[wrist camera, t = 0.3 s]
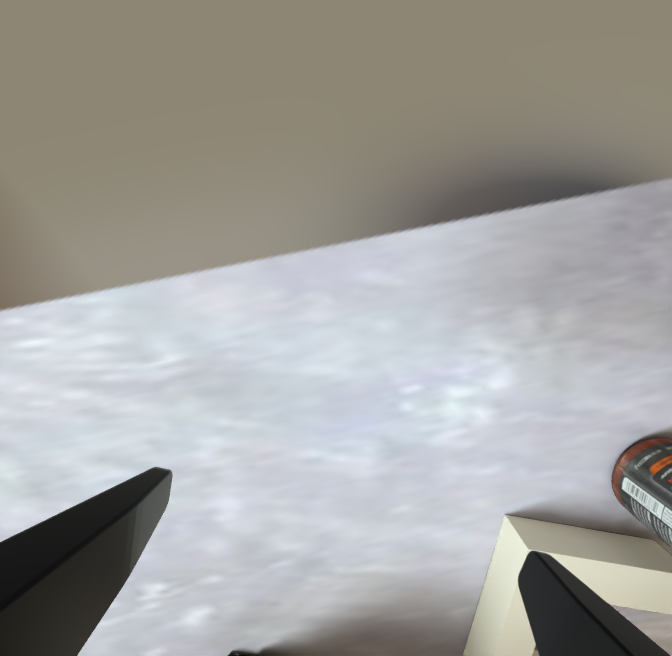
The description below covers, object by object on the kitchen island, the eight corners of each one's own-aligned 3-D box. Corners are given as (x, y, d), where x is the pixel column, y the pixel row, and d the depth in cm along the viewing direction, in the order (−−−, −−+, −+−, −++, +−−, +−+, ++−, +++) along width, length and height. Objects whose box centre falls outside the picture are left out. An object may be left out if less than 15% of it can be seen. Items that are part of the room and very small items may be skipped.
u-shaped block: (593, 691, 27) (624, 743, 24) (458, 669, 27) (473, 719, 24) (653, 539, 24) (696, 577, 21) (505, 514, 24) (527, 548, 21)
